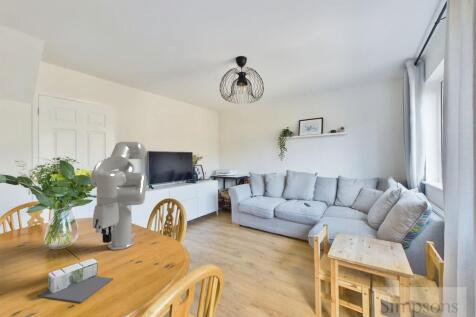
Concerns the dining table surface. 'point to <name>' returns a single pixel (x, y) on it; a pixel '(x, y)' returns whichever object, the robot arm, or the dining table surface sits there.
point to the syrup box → (72, 275)
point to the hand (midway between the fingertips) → (107, 241)
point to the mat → (78, 290)
